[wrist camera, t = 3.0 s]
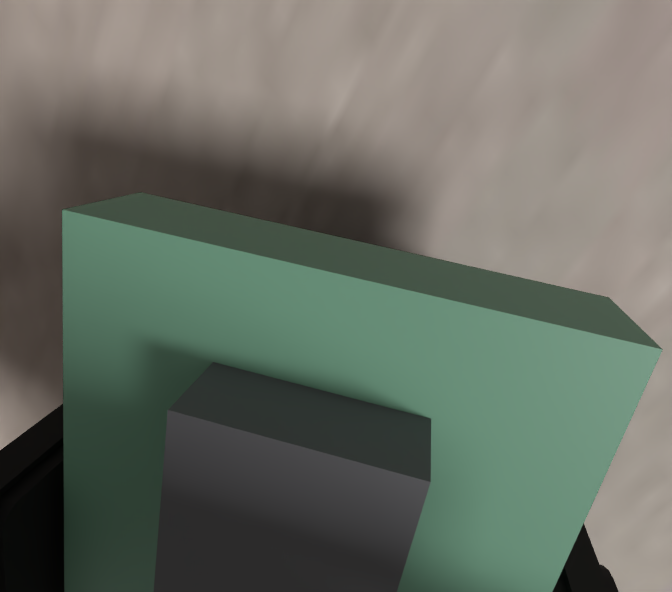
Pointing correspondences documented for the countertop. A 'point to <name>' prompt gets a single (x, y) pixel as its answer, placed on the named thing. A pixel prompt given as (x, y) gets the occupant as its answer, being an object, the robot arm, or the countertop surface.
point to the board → (324, 410)
